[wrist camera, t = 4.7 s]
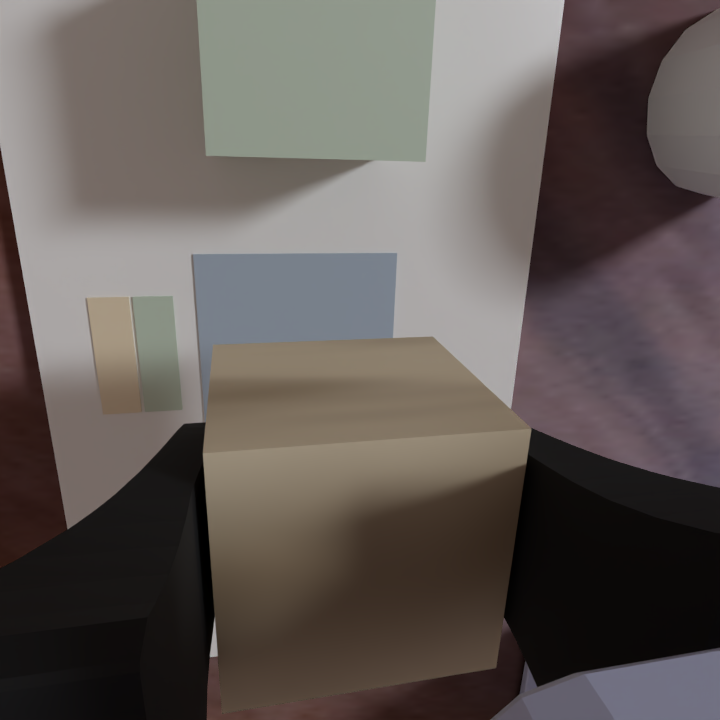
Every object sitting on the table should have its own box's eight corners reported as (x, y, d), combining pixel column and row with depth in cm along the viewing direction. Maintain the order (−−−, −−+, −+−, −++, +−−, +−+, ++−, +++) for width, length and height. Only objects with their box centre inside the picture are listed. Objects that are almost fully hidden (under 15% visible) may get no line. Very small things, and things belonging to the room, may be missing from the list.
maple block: (419, 516, 14) (495, 668, 10) (225, 537, 13) (222, 713, 9) (432, 336, 12) (531, 429, 8) (212, 344, 11) (203, 453, 7)
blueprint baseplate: (477, 606, 24) (484, 618, 23) (96, 660, 21) (92, 675, 20) (563, -78, 16) (577, -87, 15) (-43, -153, 13) (-57, -168, 12)
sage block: (377, 158, 16) (425, 161, 12) (212, 154, 15) (205, 155, 11) (384, -30, 15) (442, -97, 11) (201, -47, 14) (188, -129, 10)
